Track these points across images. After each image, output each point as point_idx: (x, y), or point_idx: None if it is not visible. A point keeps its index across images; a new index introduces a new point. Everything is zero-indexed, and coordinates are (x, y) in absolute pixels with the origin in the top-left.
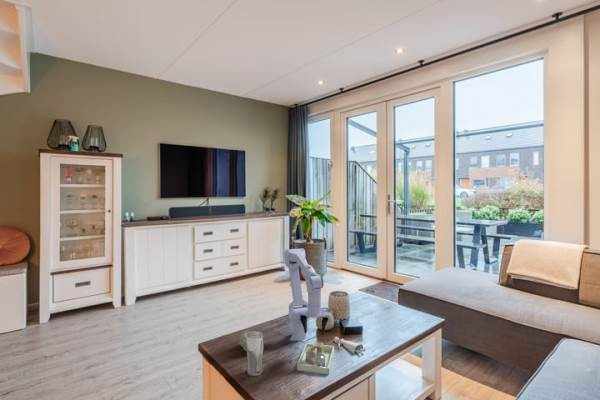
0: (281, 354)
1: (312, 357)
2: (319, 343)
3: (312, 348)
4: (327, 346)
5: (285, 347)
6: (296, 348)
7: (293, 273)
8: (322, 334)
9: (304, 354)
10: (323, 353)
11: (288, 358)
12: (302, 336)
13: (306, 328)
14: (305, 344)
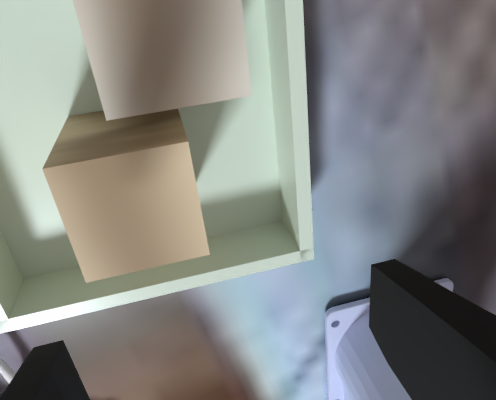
0: (487, 50)
1: None
2: (129, 249)
3: (166, 75)
4: (74, 300)
5: (467, 176)
6: (375, 202)
7: None
8: (39, 353)
9: (275, 108)
10: None
11: (413, 3)
12: (372, 343)
13: (410, 350)
14: (312, 228)
